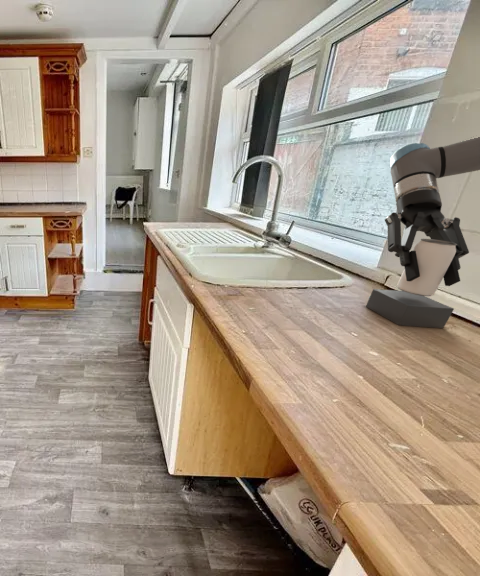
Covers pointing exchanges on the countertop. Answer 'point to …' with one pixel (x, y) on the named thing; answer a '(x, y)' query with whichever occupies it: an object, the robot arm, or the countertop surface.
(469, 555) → the countertop surface
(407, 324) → the grey block
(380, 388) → the countertop surface
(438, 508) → the countertop surface
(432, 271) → the can
